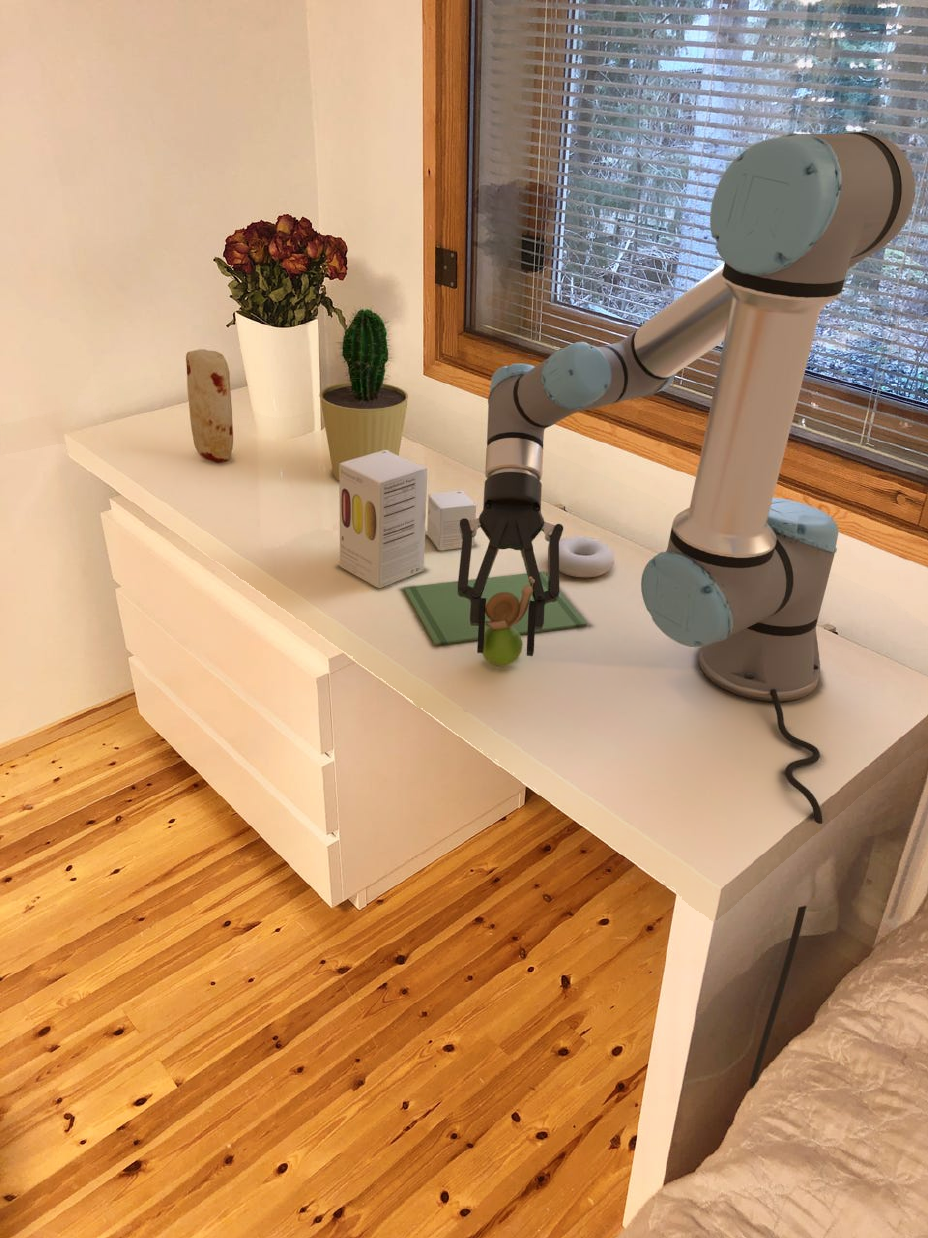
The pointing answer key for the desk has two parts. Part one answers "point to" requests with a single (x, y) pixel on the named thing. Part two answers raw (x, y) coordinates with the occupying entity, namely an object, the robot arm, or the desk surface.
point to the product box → (448, 518)
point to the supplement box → (382, 517)
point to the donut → (584, 557)
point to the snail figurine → (505, 626)
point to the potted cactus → (363, 396)
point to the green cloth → (452, 613)
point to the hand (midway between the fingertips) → (505, 651)
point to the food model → (210, 404)
